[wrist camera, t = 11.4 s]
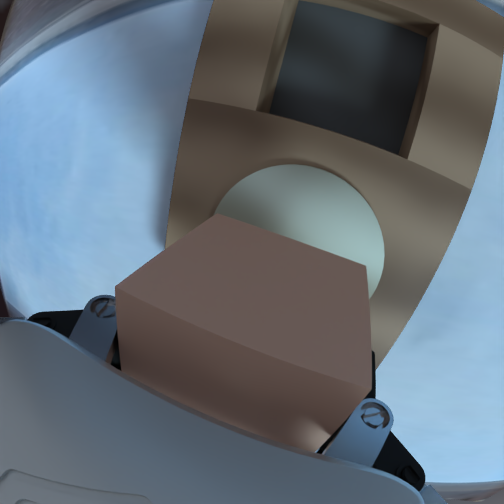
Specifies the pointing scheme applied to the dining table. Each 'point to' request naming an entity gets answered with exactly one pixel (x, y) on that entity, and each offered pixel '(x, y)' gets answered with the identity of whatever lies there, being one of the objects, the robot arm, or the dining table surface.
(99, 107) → the dining table surface
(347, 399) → the block
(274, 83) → the hole platform
